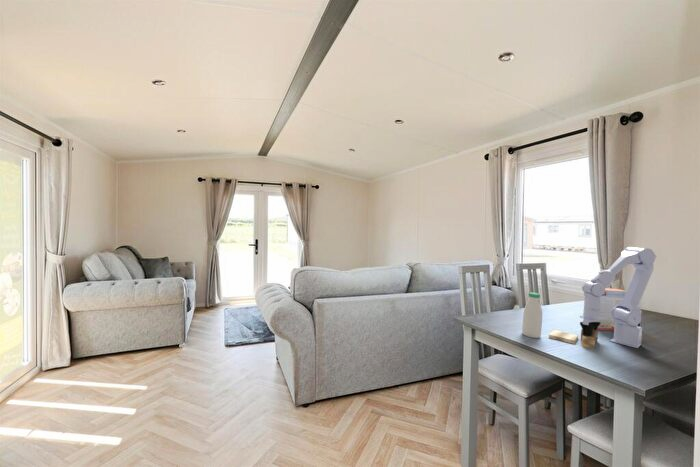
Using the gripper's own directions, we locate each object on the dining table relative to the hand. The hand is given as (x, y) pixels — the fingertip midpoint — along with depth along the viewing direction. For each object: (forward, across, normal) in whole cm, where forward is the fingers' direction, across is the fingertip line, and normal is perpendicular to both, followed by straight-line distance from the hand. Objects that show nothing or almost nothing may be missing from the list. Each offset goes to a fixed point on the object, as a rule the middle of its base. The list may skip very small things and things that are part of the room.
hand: (589, 337), depth 148 cm
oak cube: (+2, +9, +2) cm, 9 cm away
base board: (+1, +7, -8) cm, 11 cm away
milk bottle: (+2, +17, -18) cm, 25 cm away
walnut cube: (+1, 0, 0) cm, 1 cm away
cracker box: (+2, -30, -1) cm, 30 cm away
